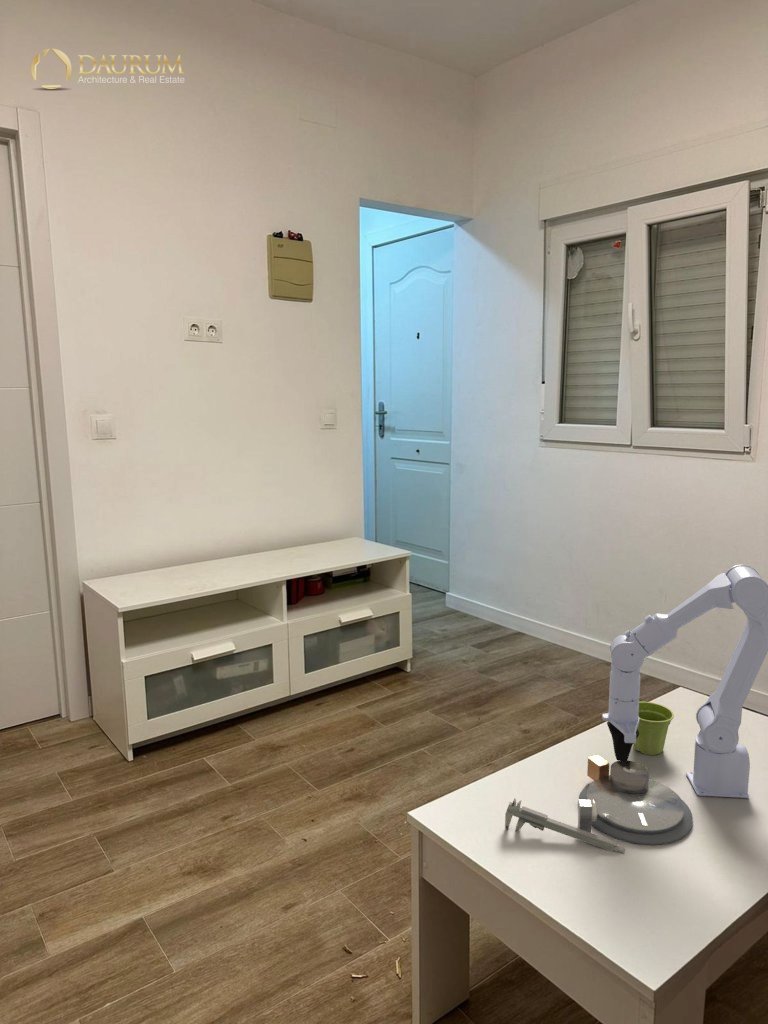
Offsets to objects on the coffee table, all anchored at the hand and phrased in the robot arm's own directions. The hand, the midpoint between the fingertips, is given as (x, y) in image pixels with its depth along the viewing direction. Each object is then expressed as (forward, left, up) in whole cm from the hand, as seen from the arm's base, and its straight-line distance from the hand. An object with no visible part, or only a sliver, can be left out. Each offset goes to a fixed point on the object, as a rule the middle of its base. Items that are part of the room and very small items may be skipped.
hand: (621, 758), depth 147 cm
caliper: (+14, +22, -4) cm, 27 cm away
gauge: (+10, +20, -3) cm, 22 cm away
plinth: (0, +13, -3) cm, 13 cm away
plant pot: (-8, -11, -4) cm, 14 cm away
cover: (0, +8, -1) cm, 8 cm away
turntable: (0, +11, -2) cm, 12 cm away
